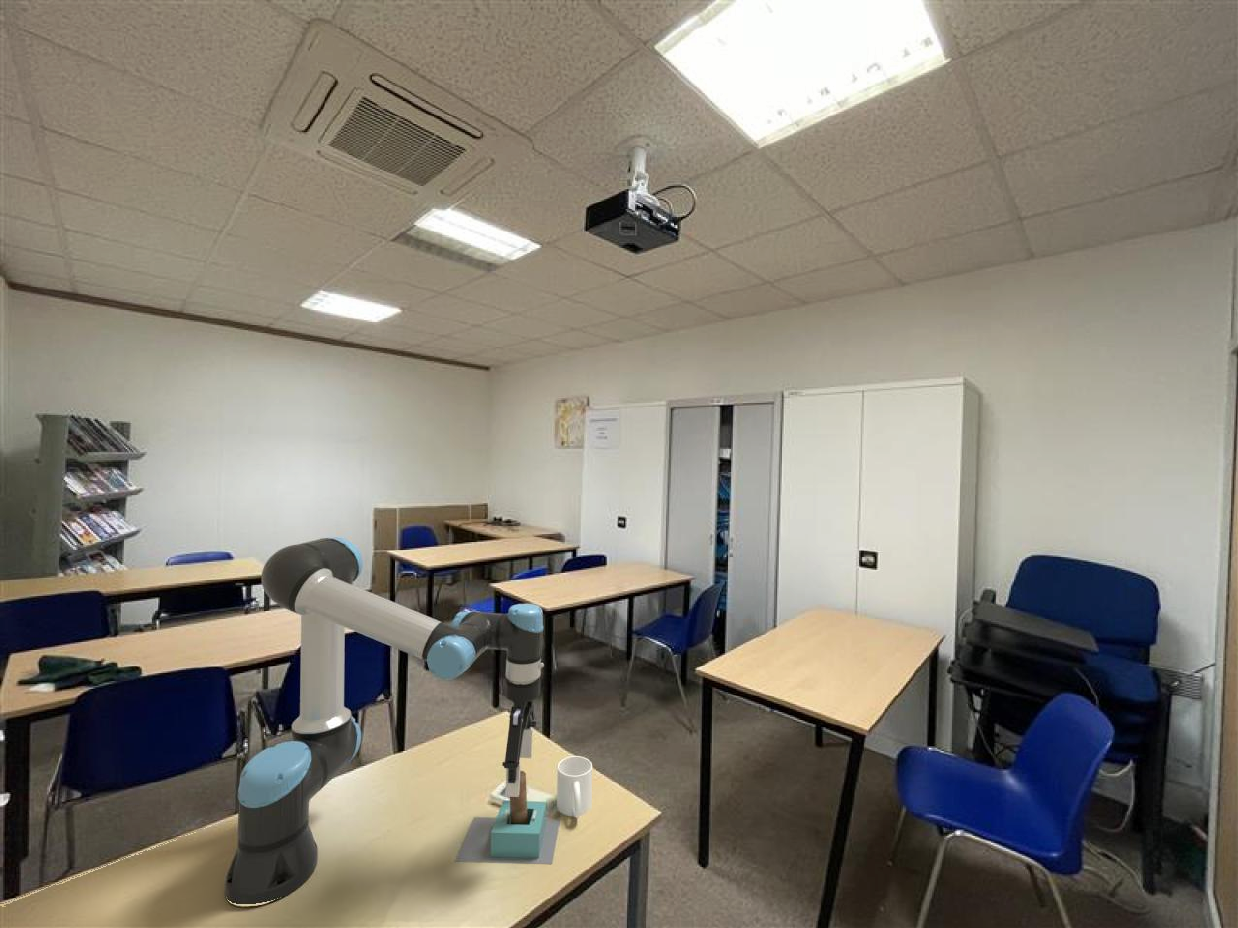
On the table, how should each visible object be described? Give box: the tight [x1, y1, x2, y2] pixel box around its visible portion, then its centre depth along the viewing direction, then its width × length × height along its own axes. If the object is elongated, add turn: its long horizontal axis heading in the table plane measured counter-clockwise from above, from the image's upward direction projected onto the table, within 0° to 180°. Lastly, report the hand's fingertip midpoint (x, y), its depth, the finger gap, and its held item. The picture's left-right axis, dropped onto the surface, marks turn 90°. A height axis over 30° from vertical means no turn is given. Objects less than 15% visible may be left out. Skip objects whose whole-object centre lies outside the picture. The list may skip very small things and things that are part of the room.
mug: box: [556, 755, 593, 819], centre depth 119 cm, size 12×8×10 cm
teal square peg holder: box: [491, 799, 548, 858], centre depth 109 cm, size 10×10×6 cm
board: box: [454, 816, 561, 865], centre depth 109 cm, size 20×13×1 cm, turn 89°
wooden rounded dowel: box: [509, 770, 528, 825], centre depth 109 cm, size 4×4×14 cm
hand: (519, 775), depth 109 cm, fingers open, 13 cm apart
